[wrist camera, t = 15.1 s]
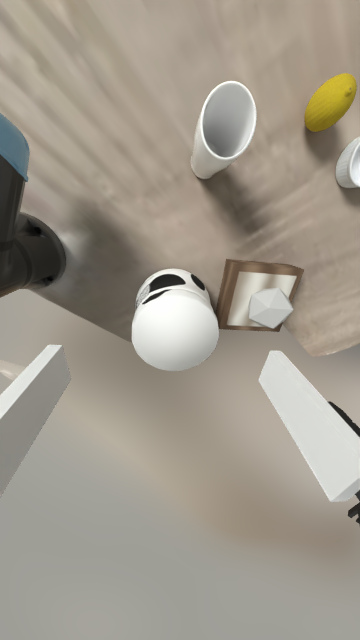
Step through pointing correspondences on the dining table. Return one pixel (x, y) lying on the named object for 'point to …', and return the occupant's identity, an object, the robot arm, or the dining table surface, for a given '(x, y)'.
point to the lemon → (330, 102)
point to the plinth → (251, 290)
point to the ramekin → (349, 166)
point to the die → (269, 307)
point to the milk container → (174, 321)
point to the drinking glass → (223, 129)
